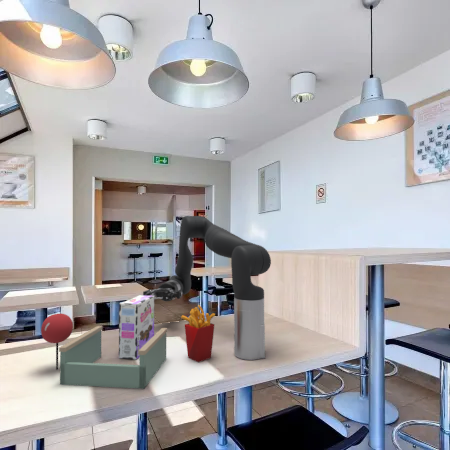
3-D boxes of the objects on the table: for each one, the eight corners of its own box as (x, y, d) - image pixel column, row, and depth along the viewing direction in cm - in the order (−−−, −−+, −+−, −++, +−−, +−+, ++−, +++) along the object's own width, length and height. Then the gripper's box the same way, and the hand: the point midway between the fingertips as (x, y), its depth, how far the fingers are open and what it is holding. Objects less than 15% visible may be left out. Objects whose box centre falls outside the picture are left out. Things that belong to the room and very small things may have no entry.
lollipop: (42, 366, 88) (43, 312, 88) (72, 361, 91) (73, 309, 91) (38, 377, 81) (39, 318, 81) (71, 372, 84) (72, 315, 84)
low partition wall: (167, 358, 93) (167, 328, 93) (144, 389, 74) (144, 350, 75) (97, 355, 95) (97, 325, 95) (58, 384, 77) (59, 347, 77)
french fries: (215, 357, 93) (215, 307, 94) (193, 365, 88) (193, 311, 88) (196, 350, 100) (196, 302, 100) (175, 357, 94) (175, 306, 94)
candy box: (136, 360, 92) (136, 303, 92) (117, 359, 93) (118, 303, 93) (154, 344, 105) (155, 294, 106) (138, 343, 106) (138, 294, 107)
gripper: (153, 281, 131) (138, 286, 115) (186, 281, 129) (176, 287, 113) (153, 299, 130) (138, 307, 114) (186, 299, 129) (176, 308, 113)
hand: (157, 297), depth 114 cm, fingers open, 8 cm apart
